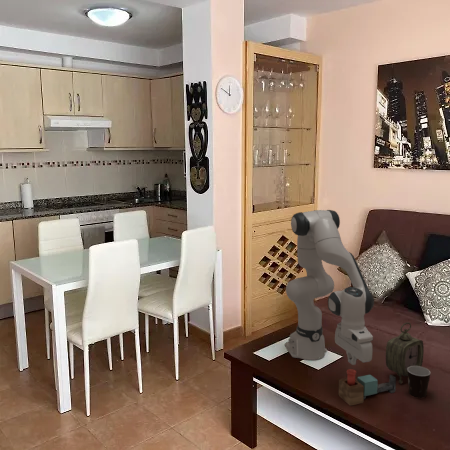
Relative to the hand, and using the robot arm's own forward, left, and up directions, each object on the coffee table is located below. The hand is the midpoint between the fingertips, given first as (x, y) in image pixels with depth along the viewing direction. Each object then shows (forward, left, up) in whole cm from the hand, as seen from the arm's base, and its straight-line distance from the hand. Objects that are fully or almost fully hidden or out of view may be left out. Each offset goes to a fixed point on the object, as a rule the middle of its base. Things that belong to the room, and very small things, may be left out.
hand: (351, 363), depth 182 cm
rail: (0, +11, -15) cm, 19 cm away
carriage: (0, +8, -14) cm, 16 cm away
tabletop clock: (-7, +31, -16) cm, 35 cm away
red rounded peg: (0, 0, -9) cm, 9 cm away
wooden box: (0, 0, -15) cm, 15 cm away
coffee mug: (+7, +26, -16) cm, 31 cm away
